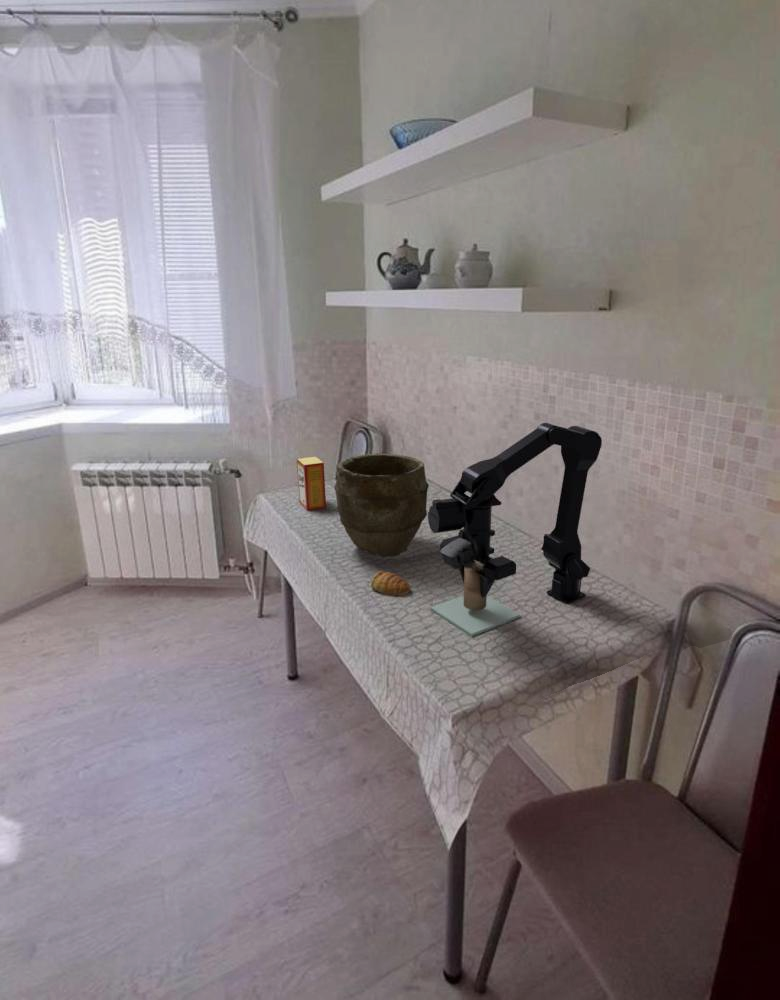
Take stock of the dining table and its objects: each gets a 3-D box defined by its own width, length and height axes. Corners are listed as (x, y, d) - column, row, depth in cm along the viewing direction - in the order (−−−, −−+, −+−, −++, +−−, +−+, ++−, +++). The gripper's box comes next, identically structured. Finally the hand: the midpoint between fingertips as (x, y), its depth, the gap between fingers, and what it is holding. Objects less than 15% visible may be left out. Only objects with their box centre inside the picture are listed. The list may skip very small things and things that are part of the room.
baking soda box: (299, 502, 212) (296, 457, 207) (317, 499, 214) (315, 455, 209) (307, 510, 203) (304, 464, 198) (326, 508, 206) (323, 461, 201)
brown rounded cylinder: (475, 597, 139) (476, 560, 136) (491, 605, 135) (492, 568, 132) (458, 603, 137) (459, 566, 134) (473, 612, 133) (474, 574, 130)
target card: (477, 592, 146) (477, 590, 146) (520, 616, 135) (520, 614, 135) (430, 609, 139) (430, 607, 138) (471, 636, 128) (471, 633, 127)
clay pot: (406, 526, 188) (405, 446, 180) (444, 556, 166) (445, 467, 158) (326, 539, 179) (322, 456, 171) (355, 573, 157) (351, 480, 149)
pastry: (415, 588, 149) (415, 574, 148) (401, 600, 144) (401, 585, 142) (382, 580, 154) (382, 566, 152) (367, 591, 148) (367, 576, 147)
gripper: (420, 521, 133) (420, 586, 138) (478, 548, 119) (476, 620, 124) (459, 511, 139) (458, 573, 144) (519, 535, 124) (516, 604, 129)
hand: (475, 592), depth 135 cm, fingers closed on brown rounded cylinder, 5 cm apart
